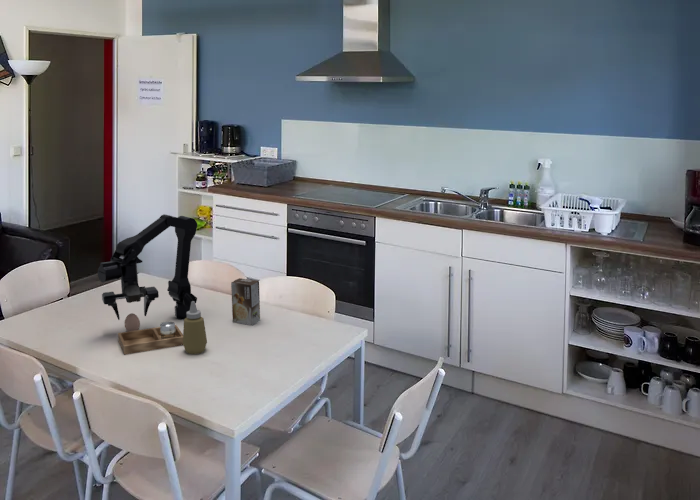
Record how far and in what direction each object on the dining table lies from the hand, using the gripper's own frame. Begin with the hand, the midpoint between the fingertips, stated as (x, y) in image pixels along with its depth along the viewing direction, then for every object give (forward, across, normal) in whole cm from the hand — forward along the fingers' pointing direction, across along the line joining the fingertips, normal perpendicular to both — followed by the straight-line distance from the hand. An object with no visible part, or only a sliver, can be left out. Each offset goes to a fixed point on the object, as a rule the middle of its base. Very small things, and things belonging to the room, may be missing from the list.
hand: (132, 317), depth 236 cm
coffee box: (+6, +41, -6) cm, 42 cm away
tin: (+5, +10, -14) cm, 18 cm away
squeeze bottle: (+6, +16, -27) cm, 32 cm away
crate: (+6, +4, -14) cm, 16 cm away
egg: (+6, 0, 0) cm, 6 cm away
